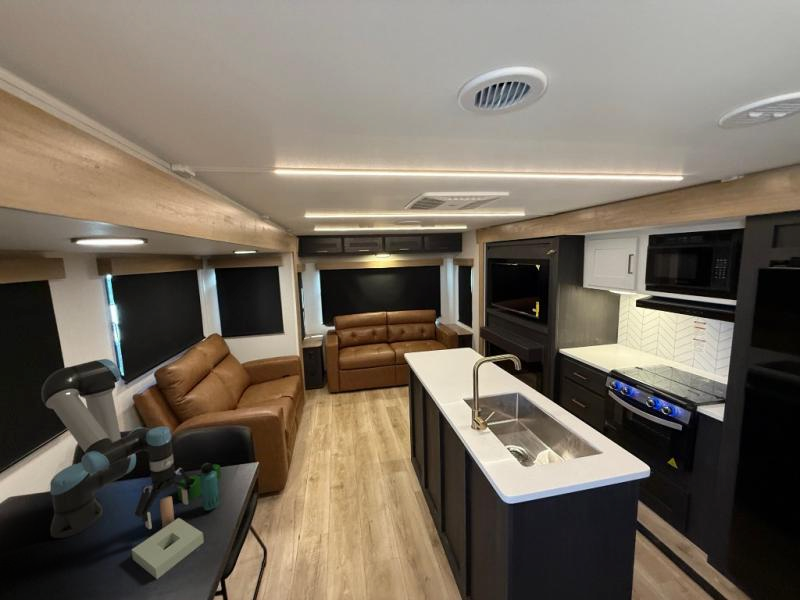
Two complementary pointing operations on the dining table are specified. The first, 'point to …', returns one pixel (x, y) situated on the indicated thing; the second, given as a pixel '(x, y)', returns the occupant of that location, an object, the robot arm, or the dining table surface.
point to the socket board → (162, 560)
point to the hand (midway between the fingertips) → (168, 514)
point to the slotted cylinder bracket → (196, 484)
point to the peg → (167, 511)
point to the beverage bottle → (209, 487)
